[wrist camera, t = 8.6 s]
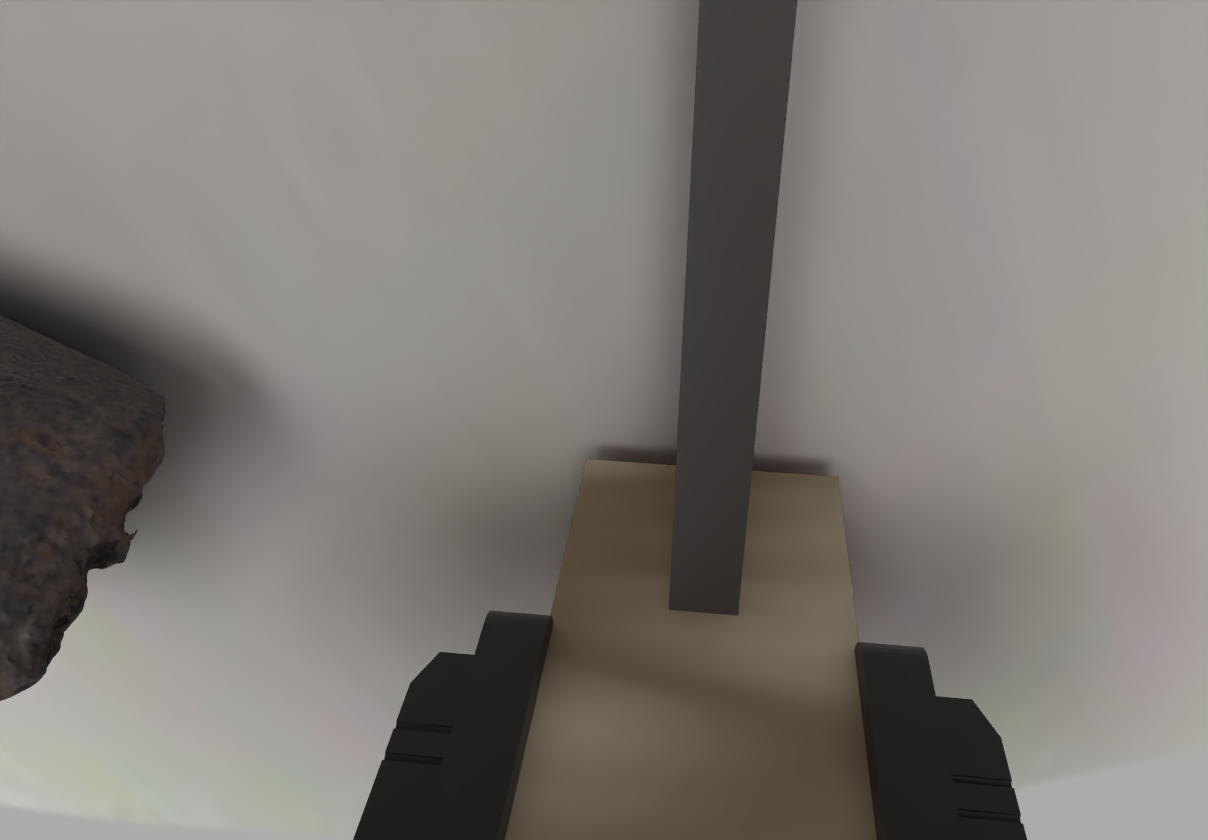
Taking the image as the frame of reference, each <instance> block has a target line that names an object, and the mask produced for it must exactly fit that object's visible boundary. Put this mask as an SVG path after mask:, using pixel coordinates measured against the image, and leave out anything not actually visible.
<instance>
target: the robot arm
mask: <svg viewBox="0 0 1208 840" xmlns="http://www.w3.org/2000/svg"><path fill="white" fill-rule="evenodd" d="M552 627H553V618H552V616H548V615H536V614H524V613H512V612H500V611H490V612H489V613H488V614H487V617H486V619H485V622H484V625H483V629H482V632H481V635H480V638H479V642H478V645H477V648H476V652H475V655H469V654H457V653H446V652H439V654H438V655H437V656H436V657H435V658H434V659H433V660H432V661H431V662H430V663H429V664H428V665H427V666H426V667H425V668H424V669H423V670H422V671H421V673H420V674H419V675H418V676H417V677H416V678H415V679H414V680H413V681H412V682H411V683H410V685H409V688H408V691H407V694H406V696H405V699H404V702H403V705H402V707H401V710H400V713H399V716H398V718H397V724H396V728H395V729H393V732H392V735H391V738H390V740H389V743H388V746H387V749H386V751H385V759H384V760H382V762H381V765H380V768H379V770H378V773H377V776H376V779H375V781H374V784H373V787H372V790H371V792H370V795H369V798H368V801H367V803H366V806H365V809H364V812H363V814H362V817H361V820H360V822H359V825H358V828H357V831H356V833H355V836H354V839H353V840H505V837H506V832H507V828H508V823H509V819H510V814H511V810H512V805H513V801H514V797H515V792H516V788H517V783H518V779H519V774H520V770H521V765H522V761H523V757H524V752H525V748H526V743H527V739H528V734H529V730H530V725H531V721H532V716H533V712H534V708H535V703H536V699H537V694H538V690H539V685H540V681H541V676H542V672H543V667H544V663H545V659H546V654H547V650H548V645H549V641H550V636H551V632H552ZM854 651H855V659H856V668H857V676H858V685H859V693H860V702H861V710H862V719H863V727H864V735H865V744H866V752H867V761H868V769H869V778H870V786H871V795H872V803H873V812H874V820H875V829H876V837H877V840H1027V838H1026V834H1025V830H1024V826H1023V824H1021V822H1020V810H1019V807H1018V802H1017V799H1016V795H1015V791H1014V788H1012V786H1011V781H1012V779H1011V775H1010V771H1009V767H1008V763H1007V760H1006V756H1005V752H1004V748H1003V744H1002V740H1001V737H1000V736H999V735H998V733H997V732H996V731H995V729H994V728H993V727H992V725H991V724H990V723H989V721H988V720H987V719H986V717H985V716H984V715H983V713H982V712H981V711H980V709H979V708H978V707H977V705H976V704H975V703H974V701H973V700H972V699H961V698H949V697H938V696H935V690H934V685H933V680H932V675H931V670H930V665H929V660H928V656H927V653H926V651H925V649H924V648H921V647H909V646H897V645H885V644H873V643H861V642H858V643H857V644H856V646H855V649H854Z"/></svg>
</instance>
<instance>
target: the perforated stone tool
mask: <svg viewBox="0 0 1208 840" xmlns="http://www.w3.org/2000/svg"><path fill="white" fill-rule="evenodd" d="M165 414H166V409H165V402H164V398H163V397H162V396H160V395H158V394H157V393H156V392H155V391H154V390H152V389H151V388H150V387H148V386H147V385H145V384H143V383H142V382H140V381H138V380H136V379H134V378H132V377H131V376H129V375H127V374H125V373H123V372H121V371H120V370H118V369H116V368H114V367H112V366H109V365H107V364H105V363H103V362H101V361H99V360H96V359H94V358H92V357H90V356H87V355H85V354H83V353H81V352H79V351H76V350H74V349H72V348H70V347H68V346H66V345H64V344H62V343H59V342H57V341H55V340H53V339H50V338H49V337H47V336H45V335H42V334H40V333H38V332H36V331H34V330H32V329H29V328H27V327H25V326H24V325H22V324H19V323H17V322H15V321H13V320H11V319H8V318H6V317H4V316H2V315H0V701H1V700H4V699H7V698H10V697H12V696H14V695H16V694H18V693H20V692H21V691H23V690H26V689H27V688H29V687H31V686H32V685H34V684H36V683H37V682H38V681H39V680H40V679H41V678H42V677H43V675H44V674H45V673H46V670H47V667H48V665H49V664H50V662H51V660H52V658H53V657H54V656H55V655H56V654H57V653H58V651H59V650H60V648H61V641H62V639H63V636H64V631H66V629H67V628H68V627H69V626H70V625H71V623H72V622H73V621H74V620H75V619H76V618H77V617H78V616H79V614H80V613H81V612H82V610H83V607H84V603H85V600H86V598H87V593H88V589H87V573H88V571H89V570H90V569H94V568H98V569H105V568H107V567H110V566H112V565H114V564H116V563H123V562H124V561H125V559H126V556H127V553H128V550H129V547H130V540H132V539H133V538H134V536H135V535H136V533H137V530H136V532H135V533H134V534H131V535H129V534H128V533H126V532H125V531H124V522H125V516H126V514H127V513H128V512H129V511H130V510H132V509H134V508H135V507H136V506H137V505H138V503H139V501H140V500H141V498H142V488H143V486H144V485H145V484H146V483H147V482H148V481H149V480H150V478H151V477H152V476H153V474H154V472H155V471H156V468H157V467H158V466H159V465H160V464H161V462H162V459H163V457H164V453H165V452H164V443H163V442H164V441H163V435H162V434H163V433H162V432H163V425H162V421H163V419H164V417H165Z"/></svg>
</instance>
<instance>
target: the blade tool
mask: <svg viewBox="0 0 1208 840" xmlns="http://www.w3.org/2000/svg"><path fill="white" fill-rule="evenodd" d="M796 7H797V0H700V8H699V27H698V47H697V66H696V86H695V106H694V125H693V145H692V164H691V184H690V203H689V223H688V243H687V262H686V282H685V301H684V321H683V340H682V360H681V380H680V399H679V419H678V438H677V458H676V465H663V464H649V463H635V462H620V461H606V460H592V459H586V463H585V467H584V472H583V476H582V480H581V485H580V489H579V493H578V498H577V502H576V506H575V511H574V515H573V519H572V523H571V528H570V532H569V536H568V541H567V545H566V549H565V554H564V558H563V562H562V567H561V571H560V575H559V580H558V584H557V588H556V593H555V597H554V601H553V606H552V610H551V614H550V616H552V618H553V627H552V632H551V636H550V641H549V645H548V650H547V654H546V659H545V663H544V667H543V672H542V676H541V681H540V685H539V690H538V694H537V699H536V703H535V708H534V712H533V716H532V721H531V725H530V730H529V734H528V739H527V743H526V748H525V752H524V757H523V761H522V765H521V770H520V774H519V779H518V783H517V788H516V792H515V797H514V801H513V805H512V810H511V814H510V819H509V823H508V828H507V832H506V837H505V840H877V837H876V829H875V820H874V812H873V803H872V795H871V786H870V778H869V769H868V761H867V752H866V744H865V735H864V727H863V719H862V710H861V702H860V693H859V685H858V676H857V668H856V659H855V651H854V649H855V646H856V644H857V643H858V642H859V639H858V631H857V623H856V615H855V607H854V599H853V591H852V583H851V575H850V566H849V558H848V550H847V542H846V534H845V526H844V518H843V510H842V502H841V494H840V486H839V478H838V477H835V476H821V475H807V474H792V473H778V472H764V471H752V465H753V455H754V444H755V434H756V423H757V413H758V403H759V392H760V382H761V371H762V361H763V351H764V340H765V330H766V319H767V309H768V299H769V288H770V278H771V267H772V257H773V247H774V236H775V226H776V215H777V205H778V195H779V184H780V174H781V163H782V153H783V143H784V132H785V122H786V111H787V101H788V91H789V80H790V70H791V59H792V49H793V39H794V28H795V18H796Z"/></svg>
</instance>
